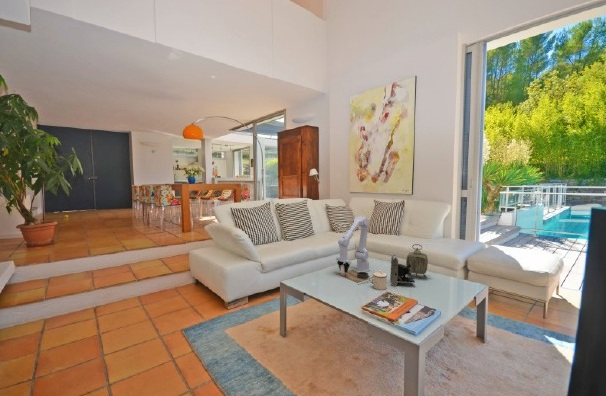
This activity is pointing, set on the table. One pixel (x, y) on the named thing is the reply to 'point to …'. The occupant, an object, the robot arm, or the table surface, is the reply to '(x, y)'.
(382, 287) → the teacup with lid
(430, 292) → the table surface
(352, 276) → the board
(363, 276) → the faceted grey ring
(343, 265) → the cap plug
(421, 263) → the tabletop clock
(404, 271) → the vintage camera
